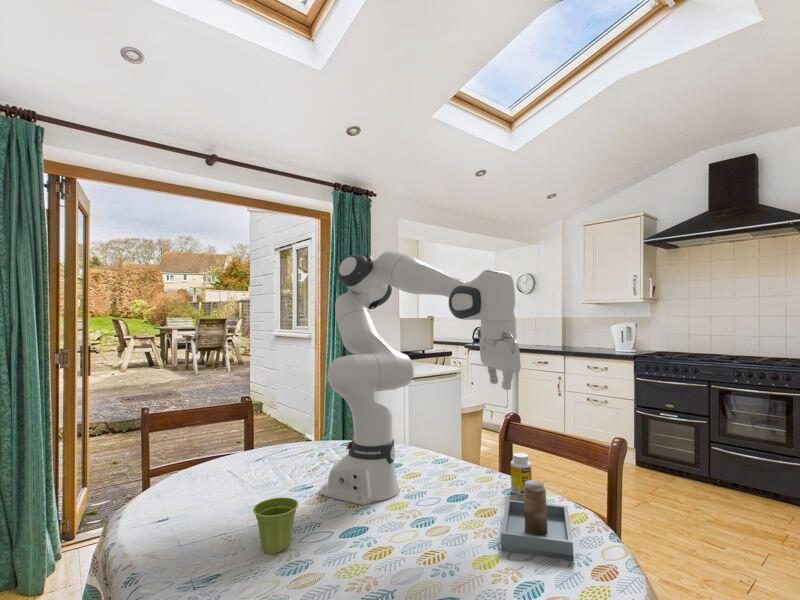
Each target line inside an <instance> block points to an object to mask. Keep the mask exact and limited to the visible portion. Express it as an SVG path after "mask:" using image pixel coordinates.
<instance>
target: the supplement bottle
mask: <svg viewBox="0 0 800 600" xmlns="http://www.w3.org/2000/svg"><path fill="white" fill-rule="evenodd" d="M512 459H513V460H512ZM512 459H511V461H510V482H511V483H510V486H511V487H510V488H511V492H512V493H513V494H515V495H518V496H524V490H523V488H524V487H525V482H526V481H529V480H532V478H533V477H532V463H531V462H530V461H529V455H528V453H524V452H515V453H513V458H512Z"/></svg>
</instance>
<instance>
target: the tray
mask: <svg viewBox="0 0 800 600" xmlns="http://www.w3.org/2000/svg"><path fill="white" fill-rule="evenodd" d="M505 501H506V502H505V508H504V514H503V520H502V527H501V533H500V534H501V535H500V540H501V542H500V543H501V551H504V552H511V553H518V554H525V555H533V556H539V557H547V558H551V559H552V558H553V559H559V560H561V559H562V560H566V561H567V560H568V561H574V543H573V542H574V541H573V535H572V529H571V523H570V514H569V510H568V505H559V504H551V503H546V507H547V530H548V532H547V534H545V535H532V534H530V533H528V532H527V531H526V530H525V515H524V500H523V501H522V500H514V499H512V500H511V499H506V500H505Z"/></svg>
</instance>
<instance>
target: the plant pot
mask: <svg viewBox="0 0 800 600" xmlns="http://www.w3.org/2000/svg"><path fill="white" fill-rule="evenodd" d="M298 506H299V502H298V500H296V499H294V498H290V497H275V498H274V497H273V498H268V499H264V500H263V501H262V500H261V502H258V503H257V504H256V505H254V507H253V510H252V511H253V514H254V515H255V519H256V520H257V527H258V533H259V539H260V541H259V542H260V547H261V550H262V551H263V552H264V551H265V552H267V553H266V554H278V553H277V552H279V553H280V552H282V551H287V550H288V549H289V548H290V547H289V546H291V543H292V535H293V529H294V522H295V515H296V512H297V509H298V508H299V507H298ZM288 547H289V548H288ZM287 548H288V549H287ZM265 552H264V553H265Z"/></svg>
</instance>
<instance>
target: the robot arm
mask: <svg viewBox="0 0 800 600" xmlns="http://www.w3.org/2000/svg"><path fill="white" fill-rule="evenodd" d="M336 274H337V277H338V280H339V281H340V282H341V283H342V284H343V286H345V287H346V288H348V290H347V292H344V293H342V294H340V295H339V296H338V298H337V299H336V301H335V305H334V307H335V308H334V311H335V319H336V324H337V327H338V330H339V334H340V337H341V341H342V344H343V347H345V349H346V351H348V352H349V353H351V354H348V355H344V356H340V357H337V358H334V359H333V360H332V361H331V363H330V364H329V367H328V370H327V381H328V385H329V386H330V388H331V389H332V390H333V391H334V392H335V393H336V394H338V395H339V396H340V397H341V398H343V400H344V401H345V402H346V404H347V405H348V407H349V409H350V411H351V415H352V416H351V417H352V423H353V438H352V439H351V441H350V442H348V444H346V446H345V447H346V448H345V450H346V451H347V450H348V454H346V455H345V456H344V457H342V458H341V459H340V460H339V461H337V462H336V463H335V464H333V466H332V467H331V469H330V471H329V474H328V478H327V481H325V482H324V483H323V484H322V485H321V486H320V489H319V495H320V494H321V496H322V495H324V496H323V497H326V496H327V497H326V498H330V497H332V498H331V499H335V498H336V500H339V499H340V500H339V501H343V500H344V502H347V503H353V504H356V505H360V506H361V505H368V504H371V503H374V502H380V501H385V500H387V499H388V500H389V499H391V498H393V497H395V496H396V495H397V494H399V492H400V486H399V483H398V482H399V481H398V479H397V475H396V474H397V473H396V469H395V468H396V467H395V457H396V448H395V439H393V437H394V436H393V432H394V431H393V414H392V412H391V410H390V409H389V408H388V407H387V406H385V405H382V404H381V403H378V402H377V401H375V400H376V399H375V397H374V393H376V392H386V391H394V390H398V389H400V388H404V387H406V386H409V385H410V384H411V382H412V381H413V378H414V374H415V368H414V367H415V366H414V363H413V361H412V359H411V358H410V356H408V355H407V354H406V353H404V352H401V351H399V350H397V349H396V348H394V347H393V346H391V345H390V344H389V343H388V342H387V341H386V340H385V339H384V338H383V337H382V336H381V333H380V332H379V330H378V328H377V326H376V324H375V322H374V321H375V320H374V319H373V316H372V314H371V312H370V310H374V309H376V308H377V307H380V306H382V305H384V303H386V302H387V301H388V300H389V299H390V297H391V295H392V293H393V288H392V287H394V288H395V289H398V290H400V291H402V292H404V293H409V294H414V295H432V296H433V295H434V296H442V297H446V298H448V308H449V312H451V314H452V315H453V316H454V317H455V318H456V319H458V320H459V319H460V320H464V321H473V320H474V321H475V320H476V321H479V320H480V327H479V328H478V329H477V338H478V339H479V355H480V360H481V364H482V365H483V366H487V373H488V375H489V383H491V384H492V385H497V384H498V383H499V377H498V372H497V370H498V371H501V372H502V376H503V377H502V378H503V379H502V381H501V388H502V389H503V390H505V391H510V390H511V389H512V381H513V378H514V373H515V374H516V373H517V374H518V373H520V371H521V367H522V366H521V365H522V364H521V353H520V346H519V343H518V341H516V339H517V319H516V316H515V307H516V293H515V285H514V284H515V283H514V279H513V276H512V274H510V273H509V272H507V271H502V270H493V269H485V270H483V271H481V273H480V274H479V275H478V276H477V277H475V278H474V279H472V280H471V281H468V282H467V281H465V280H462V279H460V278H456V277H454V276H452V275H449V274H446V273H445V272H443V271H441V270H439V269H437V268H435V267H434V266H431V265H430V264H428V263H426V262H425V261H423V260H420V259H419V258H417V257H414V256H411V255H410V254H407V253H404V252H400V251H393V250H386V251H384V252H382V253H381V254H380V255H379V256H378V257H377V258H376V259H373V257H372V256H371V255H369V254H366V255H360V254H352V255H347V256H346V257H344V258H343V259H342V260H341V261H340V262H339V264H338V266H337V270H336Z"/></svg>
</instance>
